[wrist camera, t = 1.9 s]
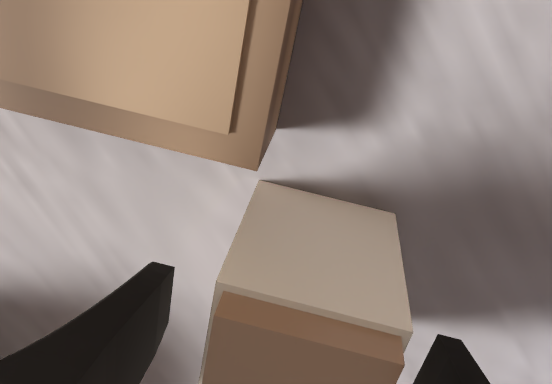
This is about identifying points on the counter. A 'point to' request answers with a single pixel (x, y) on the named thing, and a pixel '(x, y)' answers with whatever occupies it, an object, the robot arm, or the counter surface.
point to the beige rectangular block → (309, 295)
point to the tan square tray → (153, 70)
